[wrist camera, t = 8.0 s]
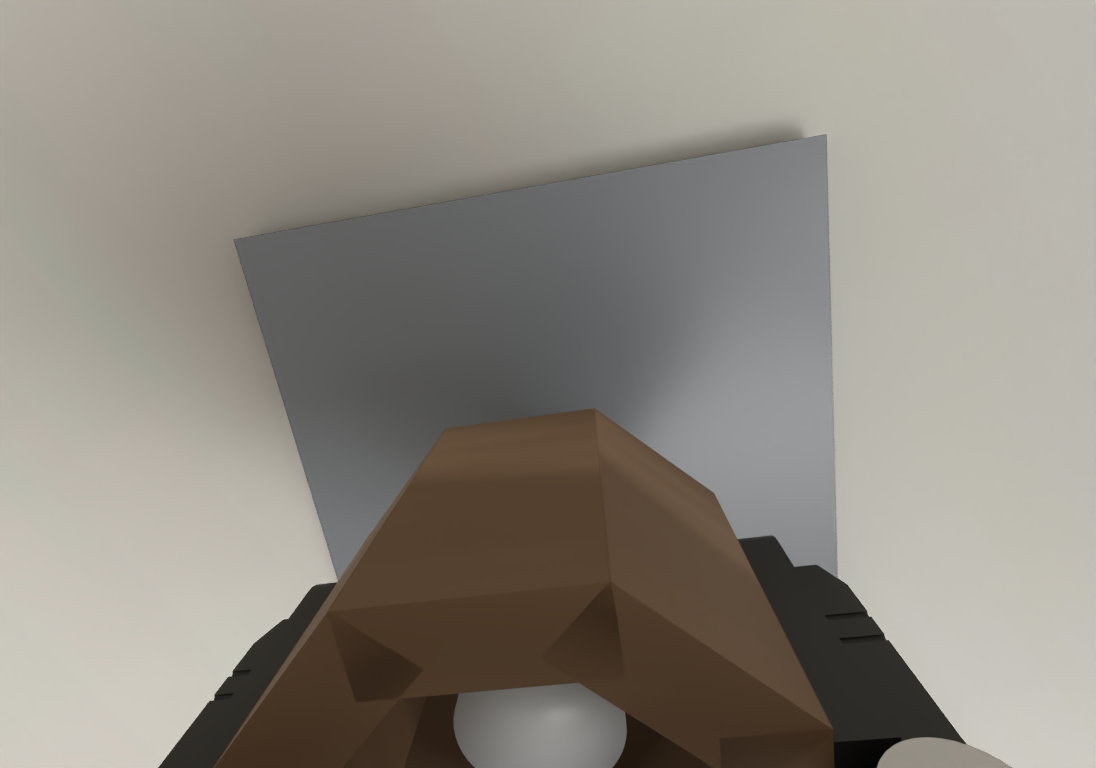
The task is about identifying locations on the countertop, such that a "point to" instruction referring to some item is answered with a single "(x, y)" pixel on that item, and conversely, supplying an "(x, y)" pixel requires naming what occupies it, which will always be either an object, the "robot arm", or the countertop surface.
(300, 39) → the countertop surface
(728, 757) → the walnut collar
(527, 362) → the post stand
